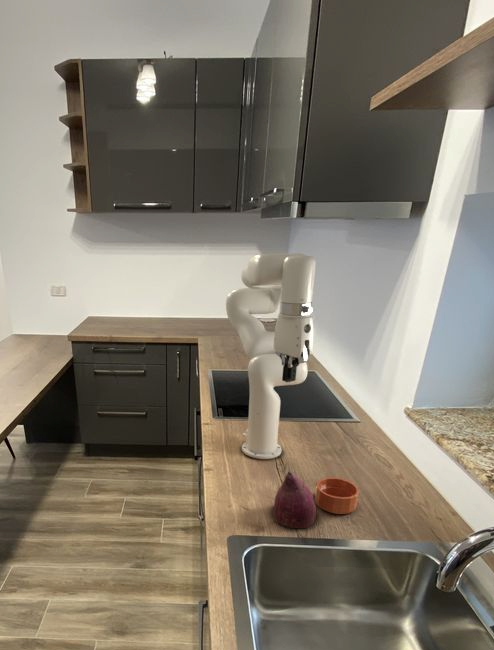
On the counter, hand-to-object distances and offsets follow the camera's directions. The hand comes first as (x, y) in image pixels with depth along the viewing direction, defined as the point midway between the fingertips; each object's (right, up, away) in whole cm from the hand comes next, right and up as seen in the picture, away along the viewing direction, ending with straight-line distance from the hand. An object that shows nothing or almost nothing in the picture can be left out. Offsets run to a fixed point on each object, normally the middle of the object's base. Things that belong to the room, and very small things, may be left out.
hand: (288, 380), depth 117 cm
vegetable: (0, -35, -6) cm, 35 cm away
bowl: (+12, -32, -1) cm, 34 cm away
